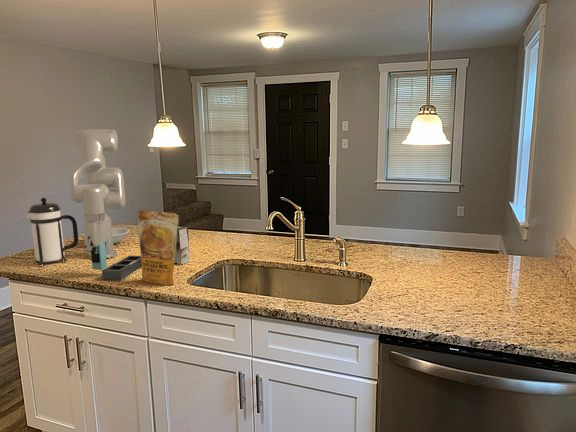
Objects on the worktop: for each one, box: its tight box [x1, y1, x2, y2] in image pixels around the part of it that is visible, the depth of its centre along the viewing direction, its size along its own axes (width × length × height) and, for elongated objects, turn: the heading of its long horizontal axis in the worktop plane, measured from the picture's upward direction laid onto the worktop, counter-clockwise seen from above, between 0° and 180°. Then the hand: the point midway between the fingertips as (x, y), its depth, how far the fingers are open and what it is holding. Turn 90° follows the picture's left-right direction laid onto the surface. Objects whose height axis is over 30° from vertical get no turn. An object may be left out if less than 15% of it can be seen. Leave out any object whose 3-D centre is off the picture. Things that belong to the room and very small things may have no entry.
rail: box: [101, 255, 142, 281], centre depth 189 cm, size 8×22×4 cm, turn 172°
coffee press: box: [25, 197, 79, 266], centre depth 204 cm, size 17×16×30 cm
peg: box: [91, 242, 108, 271], centre depth 184 cm, size 4×4×11 cm
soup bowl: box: [81, 227, 131, 245], centre depth 238 cm, size 24×24×7 cm
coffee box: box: [174, 225, 191, 265], centre depth 201 cm, size 9×6×16 cm
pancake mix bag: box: [136, 209, 180, 286], centre depth 174 cm, size 7×19×28 cm, turn 64°
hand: (99, 260), depth 184 cm, fingers closed on peg, 4 cm apart
